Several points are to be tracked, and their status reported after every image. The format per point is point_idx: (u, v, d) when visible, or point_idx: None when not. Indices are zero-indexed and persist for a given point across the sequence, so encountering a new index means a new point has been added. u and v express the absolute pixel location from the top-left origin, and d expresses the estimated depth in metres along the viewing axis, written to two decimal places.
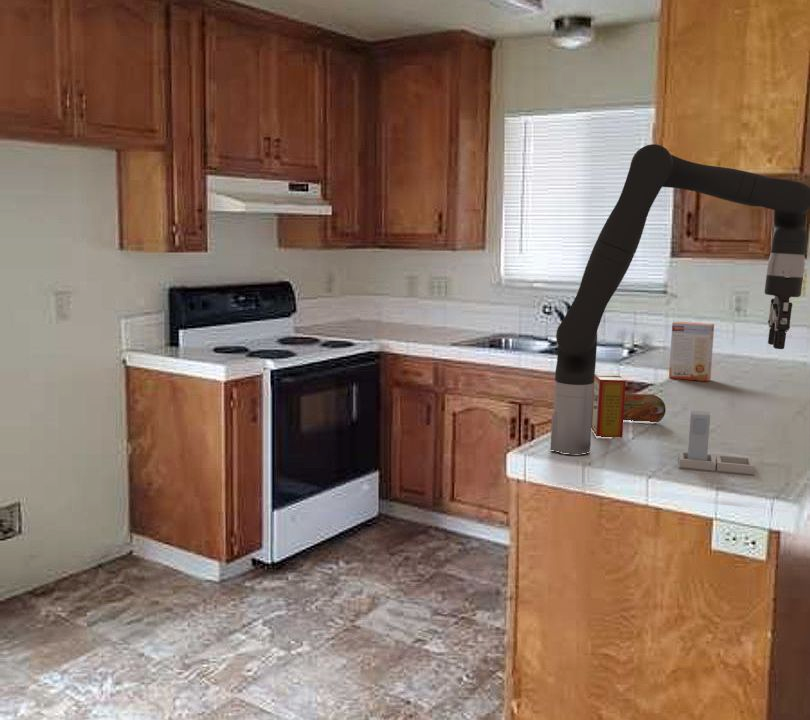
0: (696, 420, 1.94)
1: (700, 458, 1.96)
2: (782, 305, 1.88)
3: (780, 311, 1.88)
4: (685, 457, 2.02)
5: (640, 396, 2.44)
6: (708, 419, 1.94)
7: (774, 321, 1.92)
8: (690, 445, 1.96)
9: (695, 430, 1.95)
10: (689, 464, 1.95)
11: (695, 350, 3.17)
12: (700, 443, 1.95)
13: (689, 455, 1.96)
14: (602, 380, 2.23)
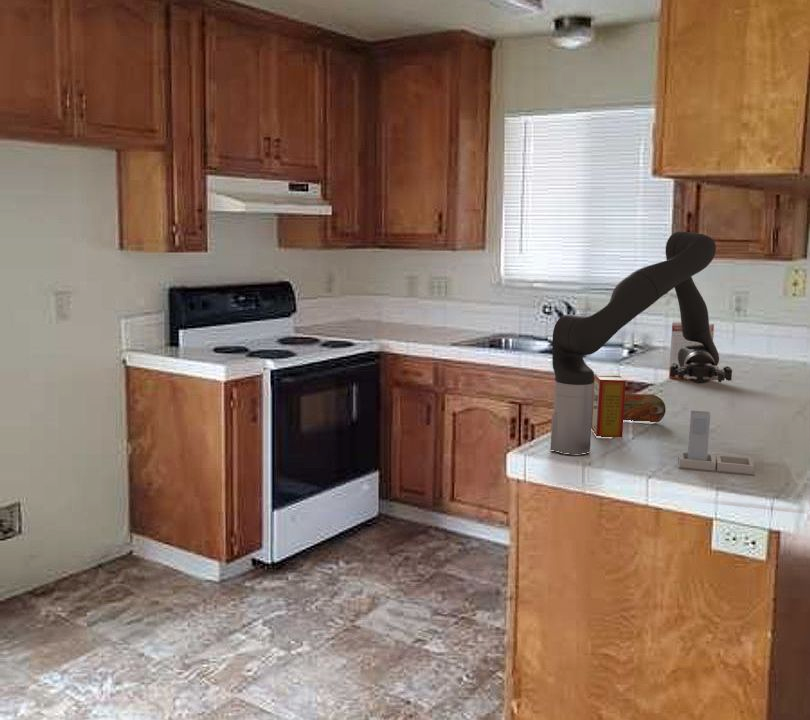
0: (696, 420, 1.94)
1: (700, 458, 1.96)
2: None
3: (730, 369, 2.12)
4: (685, 457, 2.02)
5: (640, 396, 2.44)
6: (708, 419, 1.94)
7: (716, 367, 2.11)
8: (690, 445, 1.96)
9: (695, 430, 1.95)
10: (689, 464, 1.95)
11: None
12: (700, 443, 1.95)
13: (689, 455, 1.96)
14: (602, 380, 2.23)
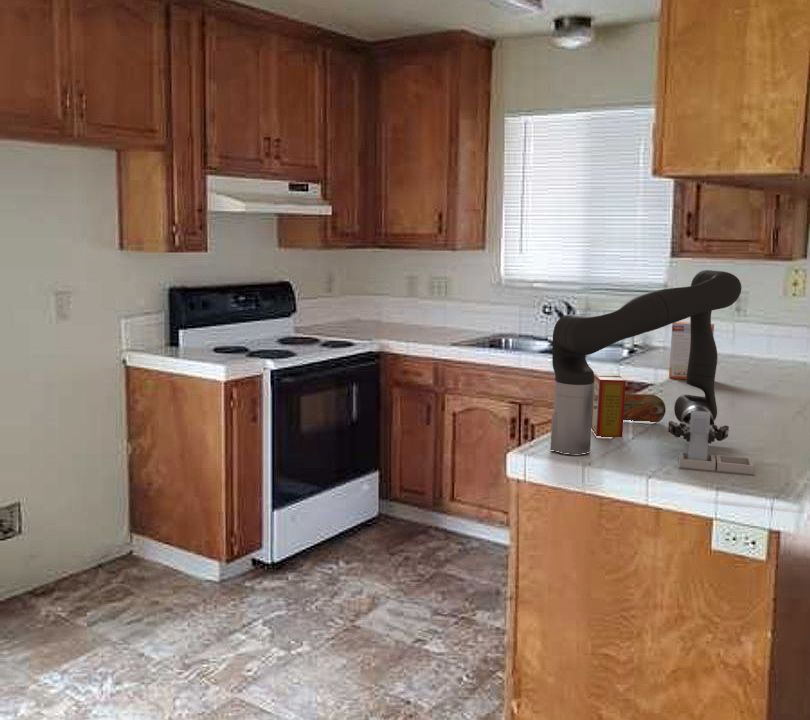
0: (696, 420, 1.94)
1: (700, 458, 1.96)
2: (728, 428, 2.01)
3: (726, 428, 2.00)
4: (685, 457, 2.02)
5: (640, 396, 2.44)
6: (708, 419, 1.94)
7: (709, 427, 1.99)
8: (690, 445, 1.96)
9: (695, 430, 1.95)
10: (689, 464, 1.95)
11: None
12: (700, 443, 1.95)
13: (689, 455, 1.96)
14: (602, 380, 2.23)
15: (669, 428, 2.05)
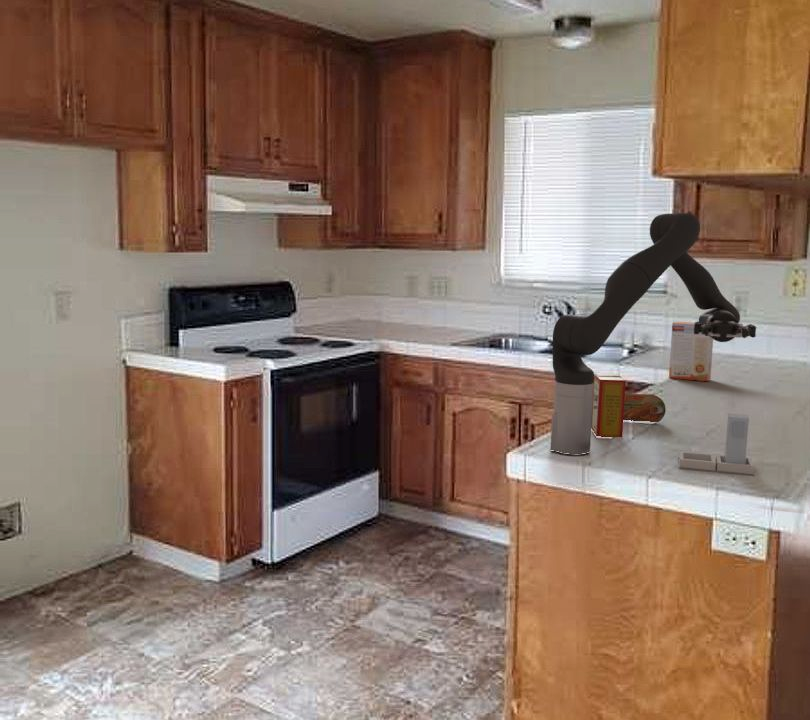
0: (734, 423, 1.92)
1: (738, 461, 1.94)
2: None
3: None
4: (685, 457, 2.02)
5: (640, 396, 2.44)
6: (747, 422, 1.92)
7: (740, 324, 2.12)
8: (728, 448, 1.94)
9: (733, 433, 1.92)
10: (689, 464, 1.95)
11: (695, 350, 3.17)
12: (739, 446, 1.93)
13: (727, 458, 1.94)
14: (602, 380, 2.23)
15: None
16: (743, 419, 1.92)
